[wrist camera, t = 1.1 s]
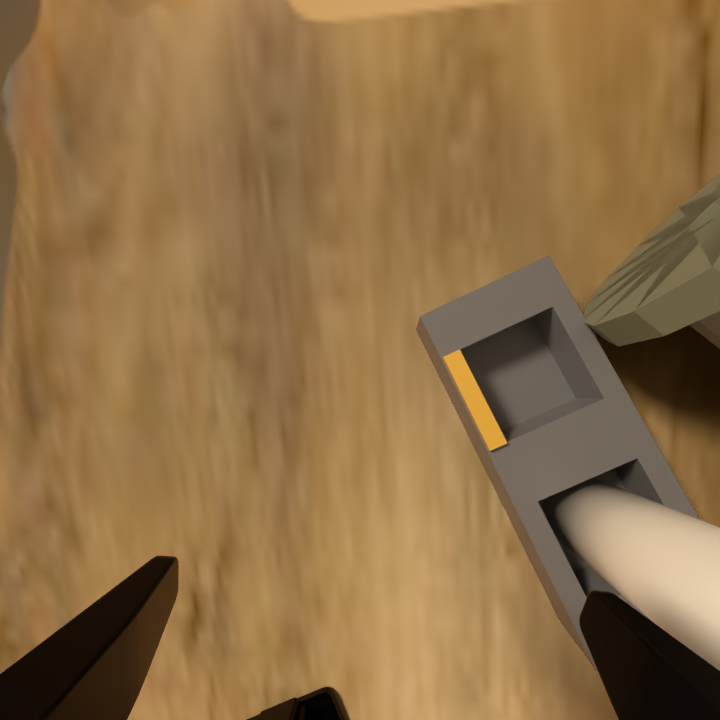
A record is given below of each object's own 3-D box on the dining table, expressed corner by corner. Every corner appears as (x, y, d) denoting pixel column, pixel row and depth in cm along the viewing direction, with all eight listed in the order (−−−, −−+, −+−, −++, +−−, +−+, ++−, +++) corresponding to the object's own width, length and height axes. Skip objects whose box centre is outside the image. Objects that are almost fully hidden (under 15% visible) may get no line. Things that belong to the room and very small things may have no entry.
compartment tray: (683, 568, 21) (756, 611, 17) (559, 620, 21) (599, 675, 17) (523, 278, 24) (551, 253, 20) (416, 329, 24) (420, 315, 20)
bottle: (638, 533, 21) (1131, 812, 7) (568, 563, 21) (906, 891, 7) (599, 462, 21) (981, 586, 7) (532, 492, 21) (779, 666, 8)
